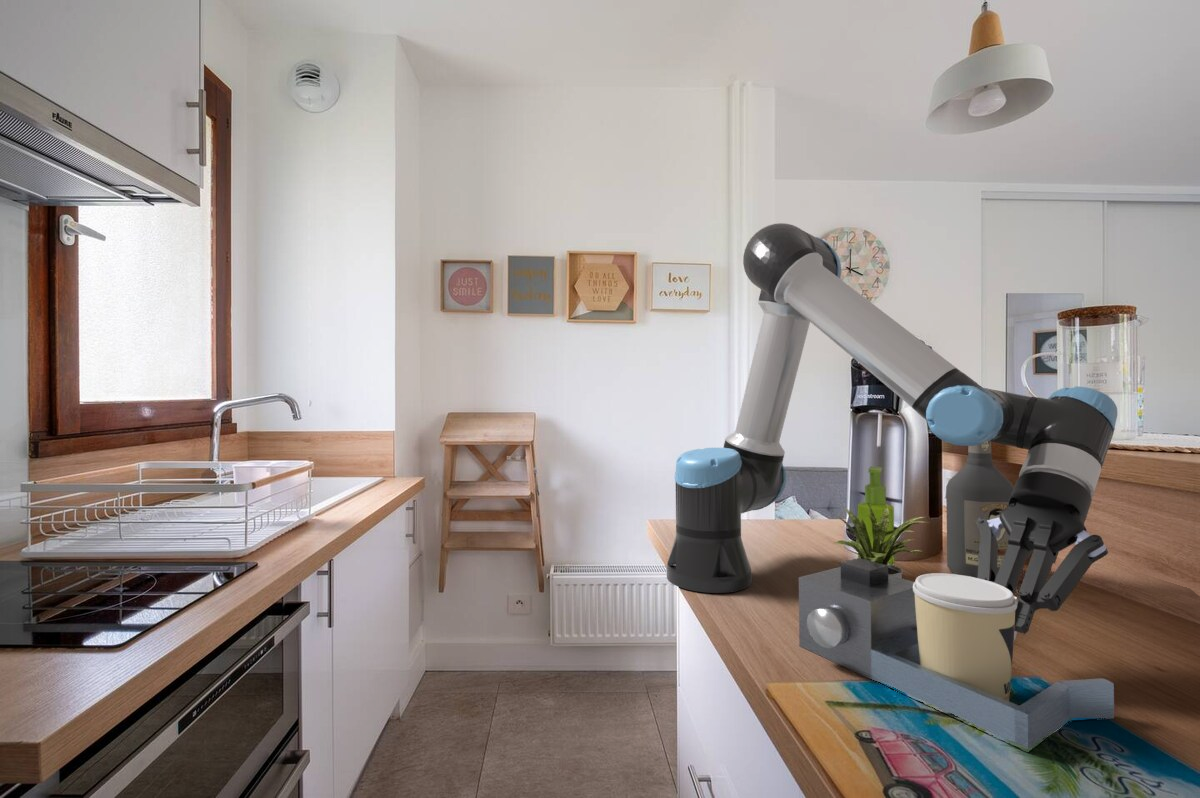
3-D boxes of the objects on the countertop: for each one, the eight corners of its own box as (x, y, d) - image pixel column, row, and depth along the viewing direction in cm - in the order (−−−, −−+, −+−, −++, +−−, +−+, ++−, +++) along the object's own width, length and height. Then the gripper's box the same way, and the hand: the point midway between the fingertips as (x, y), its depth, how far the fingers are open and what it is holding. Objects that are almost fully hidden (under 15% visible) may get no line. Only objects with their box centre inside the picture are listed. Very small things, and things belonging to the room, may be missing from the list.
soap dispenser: (895, 573, 99) (894, 466, 99) (893, 584, 93) (891, 470, 94) (861, 568, 102) (859, 464, 103) (856, 578, 96) (855, 468, 97)
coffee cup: (1034, 730, 51) (1033, 606, 52) (924, 712, 55) (923, 595, 55) (999, 683, 60) (998, 577, 60) (905, 669, 63) (904, 568, 64)
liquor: (941, 567, 103) (939, 412, 103) (989, 567, 102) (987, 412, 103) (972, 583, 93) (970, 413, 94) (1025, 584, 93) (1023, 413, 93)
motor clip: (864, 622, 77) (864, 546, 77) (1115, 717, 54) (1114, 607, 54) (789, 649, 69) (788, 564, 69) (1046, 774, 45) (1044, 645, 45)
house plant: (947, 636, 72) (946, 516, 72) (836, 622, 77) (835, 510, 77) (923, 600, 86) (922, 499, 86) (830, 590, 90) (829, 494, 91)
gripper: (1131, 514, 64) (1080, 695, 55) (1004, 499, 75) (946, 647, 66) (1113, 474, 61) (1058, 657, 52) (985, 464, 72) (921, 613, 64)
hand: (995, 651), depth 59 cm, fingers closed
